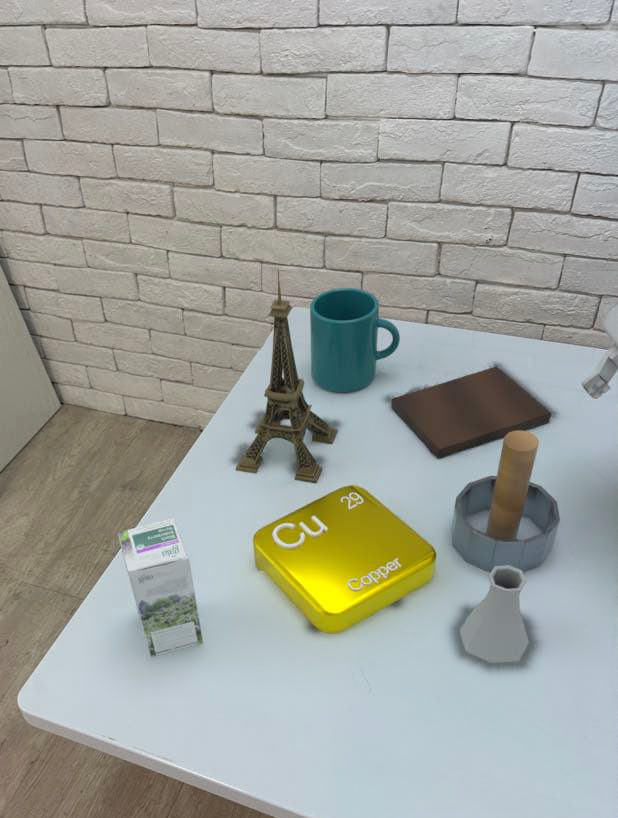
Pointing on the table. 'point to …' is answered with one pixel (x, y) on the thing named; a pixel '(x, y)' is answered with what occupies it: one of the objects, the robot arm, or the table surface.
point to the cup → (346, 339)
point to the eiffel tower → (286, 405)
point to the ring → (503, 551)
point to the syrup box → (162, 586)
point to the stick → (512, 484)
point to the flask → (498, 619)
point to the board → (469, 411)
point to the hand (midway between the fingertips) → (607, 420)
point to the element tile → (343, 558)
